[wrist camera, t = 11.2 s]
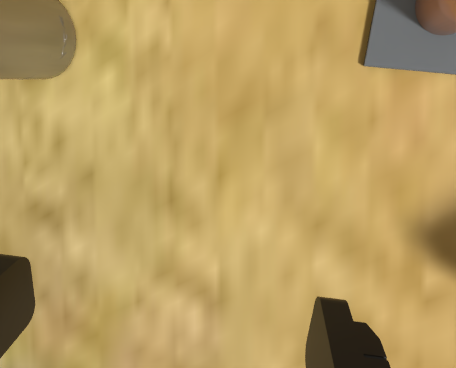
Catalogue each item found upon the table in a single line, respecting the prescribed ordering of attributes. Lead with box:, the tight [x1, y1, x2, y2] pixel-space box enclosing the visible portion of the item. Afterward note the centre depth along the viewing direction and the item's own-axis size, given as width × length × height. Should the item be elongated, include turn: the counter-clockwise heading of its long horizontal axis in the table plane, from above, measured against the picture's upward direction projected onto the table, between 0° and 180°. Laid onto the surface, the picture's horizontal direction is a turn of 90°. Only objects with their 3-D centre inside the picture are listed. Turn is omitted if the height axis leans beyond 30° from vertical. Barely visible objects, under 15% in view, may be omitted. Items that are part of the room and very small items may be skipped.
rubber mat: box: [364, 0, 456, 74], centre depth 33 cm, size 12×12×1 cm
